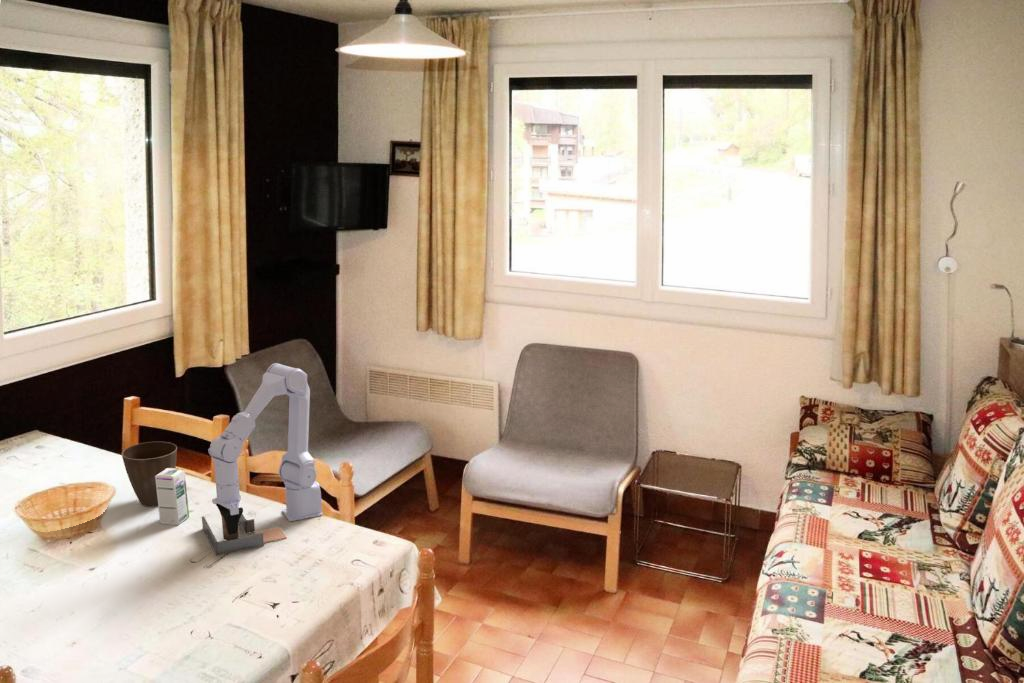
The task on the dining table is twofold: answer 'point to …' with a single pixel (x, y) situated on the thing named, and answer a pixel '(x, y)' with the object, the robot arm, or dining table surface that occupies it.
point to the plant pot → (148, 467)
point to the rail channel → (236, 543)
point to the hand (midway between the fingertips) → (230, 530)
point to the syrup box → (172, 496)
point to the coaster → (272, 534)
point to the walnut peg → (225, 532)
